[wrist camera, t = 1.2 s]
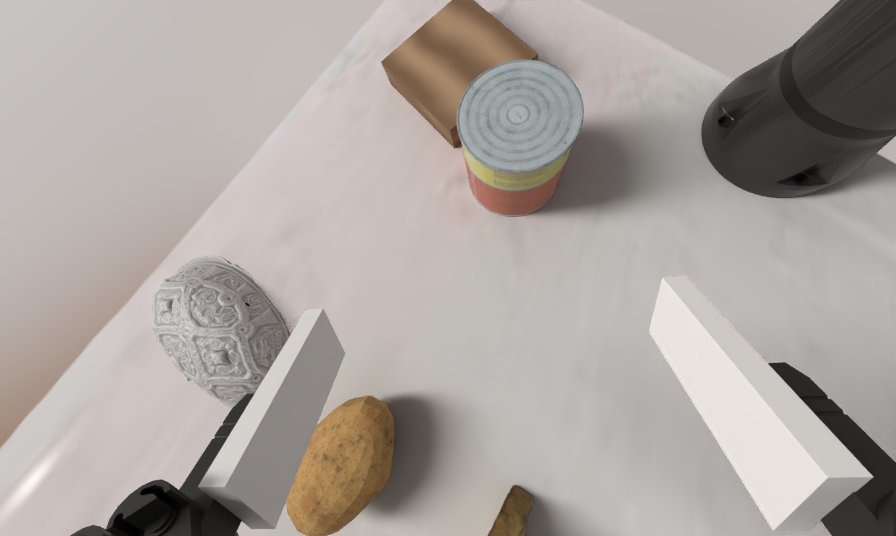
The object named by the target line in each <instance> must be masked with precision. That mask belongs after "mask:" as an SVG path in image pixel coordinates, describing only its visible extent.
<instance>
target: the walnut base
mask: <svg viewBox="0 0 896 536" xmlns="http://www.w3.org/2000/svg"><path fill="white" fill-rule="evenodd" d="M537 59H538V53H536V52H535V51H534V50H533V49H532V48H530V47H529V46H528V45H527V44H526V43H524V42H523V41H522V40H521V39H520V38H518V37H517V36H516V35H515V34H514V33H512V32H511V31H510V30H509V29H508V28H506V27H505V26H504V25H503V24H502V23H500V22H499V21H498V20H497V19H496V18H494V17H493V16H492V15H491V14H490V13H488V12H487V11H486V10H485V9H484V8H482V7H481V6H480V5H479V4H478V3H476V2H475V1H474V0H452V1H451V2H449V3H448V4H447V5H446V6H445V7H444V8H443V9H441V10H440V11H439V12H438V13H437V14H436V15H434V16H433V17H432V18H431V19H430V20H429V21H428V22H426V23H425V24H424V25H423V26H422V27H421V28H419V29H418V30H417V31H416V32H415V33H414V34H413V35H411V36H410V37H409V38H408V39H407V40H406V41H405V42H403V43H402V44H401V45H400V46H399V47H398V48H396V49H395V50H394V51H393V52H392V53H391V54H390V55H388V56H387V57H386V58H385V59H384V60H383V61H381V63H382V65H383V67H384V69H385V72H386V74H387V76H388V78H389V81H390V83H391V85H392V86H393V87H394V88H395V89H396V90H397V91H398V92H399V93H400V94H401V95H402V96H403V97H404V98H405V99H406V100H407V101H408V102H409V103H410V104H411V105H412V106H413V107H414V108H415V109H416V110H417V111H418V112H419V113H420V114H421V115H422V116H423V117H424V118H425V119H426V120H427V121H428V122H429V123H430V124H431V125H432V126H433V127H434V128H435V129H436V130H437V131H438V132H439V133H440V134H441V135H442V136H443V137H444V138H445V139H446V140H447V141H448V142H449V143H450V144H451V145H452V146H453V147H454V148H455V147H456V146H458V145H459V144H460V143H461V140H460V137H459V134H458V130H457V110H458V106H459V103H460V100H461V98H462V96H463V94H464V92H465V91H466V89H467V88H468V86H469V85H470V84H471V83H472V82H473V81H474V80H475V79H476V78H477V77H478V76H479V75H480V74H482V73H483V72H485V71H486V70H488V69H490V68H492V67H494V66H496V65H498V64H501V63H504V62H508V61H513V60H536V61H537Z"/></svg>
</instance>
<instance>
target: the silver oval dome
mask: <svg viewBox="0 0 896 536" xmlns="http://www.w3.org/2000/svg"><path fill="white" fill-rule="evenodd" d="M195 268H197V269H196V270H195ZM182 275H184V276H182ZM227 298H230V300H228V299H227ZM245 303H248V304H249V305H250V306H247V305H246V304H245ZM152 321H153V322H152V324H153V325H152V326H153V331H154V334H155V336H156V338H157V340H158V341H159V343H160V344H161V346H162V348H163V350H164V351H165V353H166V354H167V356H168V357H169V358H170V360H171V361H172V363H173V364H174V365H175V367H176V368H177V369H178V370H179V371H180V372H181V373H182V375H183V377H185V378H186V380H187V381H193V383H194V384H197V386H199V387H200V388H201V389H202V390H203V391H205V392H206V393H207V394H209V396H210V395H211V397H213V398H215V399H217V401H218V402H219V403H221V405H222V406H223V407H226V408H229V409H231V410H232V408H233V407H234V406H235V405H236V404H237V403H238V402H239V401H240V400H241V399H242V398H243V397H244V396H245V395H246V394H250V393H255V392H256V391H257V389H258V388H259V386H260V384H261V383H262V381H263V379H264V378H265V376H266V374H267V373H268V371H269V370H270V368H271V366H272V365H273V363H274V361H275V360H276V358H277V356H278V355H279V353H280V352H281V350H282V348H283V347H284V345H285V343H286V342H287V340H288V338H289V337H290V335H289V332H288V330H287V327H286V325H285V322H284V321H283V320H282V318H281V316H280V314H279V313H278V312H277V310H276V309H275V307H274V306H273V305H272V303H271V302H270V301H269V299H268V298H267V297H266V296H265V295H264V293H263V292H262V291H261V290H260V289H259V288H258V286H257V285H256V284H255V283H254V281H253V279H252V276H251V275H249V273H247V272H245V271H244V270H242V269H241V268H239V267H237V266H236V265H232V264H229V263H228V262H227V261H226V260H225V259H223V258H220V257H218V256H217V257H216V256H203V257H201V258H200V257H197V258H195V259H193V260H191V261H189V262H188V263H186V264H185V265H184V266H182V267H181V269H179V270H178V272H177V273H176V275H174V276H172V277H170V278H169V279H165V280H164V281H163V283H162V284H161V285H160V286H159V287H158V289H157V290H156V292H155V293H154V298H153V304H152Z"/></svg>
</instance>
